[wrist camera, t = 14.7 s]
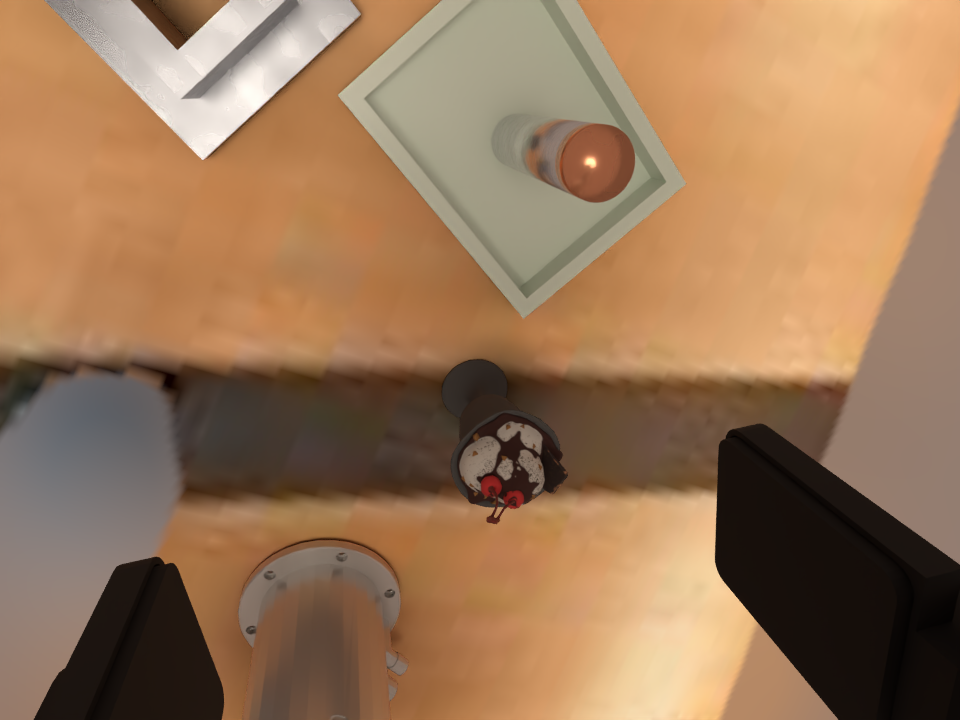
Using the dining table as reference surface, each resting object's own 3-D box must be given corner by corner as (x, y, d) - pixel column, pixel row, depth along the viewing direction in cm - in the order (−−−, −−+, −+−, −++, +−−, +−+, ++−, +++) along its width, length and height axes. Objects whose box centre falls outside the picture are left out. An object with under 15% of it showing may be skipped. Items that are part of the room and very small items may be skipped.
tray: (666, 178, 43) (686, 184, 40) (513, 305, 44) (523, 318, 42) (515, -67, 36) (529, -80, 33) (337, 95, 37) (337, 95, 34)
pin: (537, 109, 39) (633, 118, 26) (543, 162, 40) (636, 195, 27) (487, 118, 38) (560, 131, 26) (495, 171, 40) (567, 209, 27)
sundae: (410, 395, 45) (439, 522, 32) (476, 330, 44) (534, 433, 31) (472, 445, 48) (523, 583, 35) (535, 385, 47) (613, 503, 34)
